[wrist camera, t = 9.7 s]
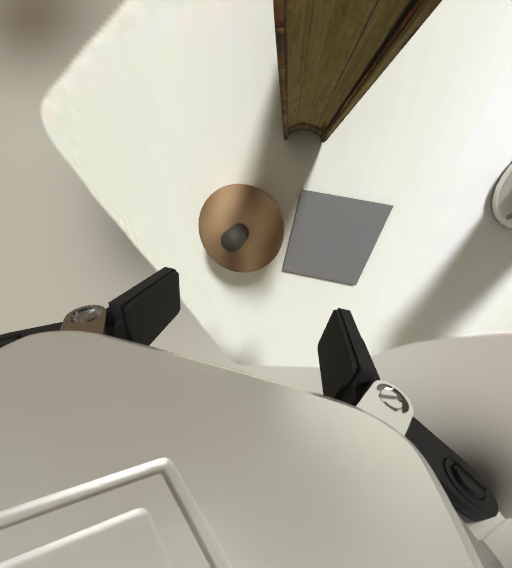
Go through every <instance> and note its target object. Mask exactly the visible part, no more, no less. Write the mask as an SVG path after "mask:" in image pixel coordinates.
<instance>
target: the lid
mask: <svg viewBox="0 0 512 568" xmlns="http://www.w3.org/2000/svg"><path fill="white" fill-rule="evenodd" d="M283 233H284V227H283V220H282V216H281V213H280V211H279V209H278V207H277V205H276V204H275V202H274V201H273V200H272V199H271V198H270V196H269V195H267V194H266V193H265V192H264V191H262V190H260V189H258V188H256V187H254V186H250V185H245V184H232V185H227V186H225V187H222V188H220V189H218V190H216V191H215V192H214V193H213V194H211V195H210V197H209V198H208V199H207V200H206V202H205V203H204V205H203V207H202V209H201V212H200V217H199V234H200V238H201V241H202V244H203V246H204V248H205V250H206V251H207V253H208V254H209V255H210V256H211V258H212V259H213V260H214V261H216V262H217V263H218V264H220V265H221V266H223V267H225V268H227V269H229V270H232V271H236V272H252V271H256V270H259V269H261V268H263V267H265V266H266V265H267V264H269V263H270V262H271V261H272V260H273V259H274V258H275V256H276V255H277V253H278V252H279V249H280V247H281V244H282V241H283Z"/></svg>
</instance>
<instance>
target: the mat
mask: <svg viewBox="0 0 512 568" xmlns="http://www.w3.org/2000/svg"><path fill="white" fill-rule="evenodd" d="M392 208H393V206H392V205H386V204H380V203H375V202H369V201H363V200H358V199H352V198H346V197H341V196H335V195H329V194H324V193H318V192H312V191H307V190H302V191H301V195H300V199H299V203H298V208H297V212H296V216H295V220H294V224H293V228H292V232H291V236H290V240H289V245H288V249H287V253H286V257H285V261H284V265H283V270H284V271H289V272H294V273H299V274H304V275H309V276H313V277H318V278H323V279H328V280H333V281H338V282H343V283H348V284H353V285H356V284H357V282H358V280H359V278H360V275H361V273H362V271H363V269H364V267H365V265H366V263H367V261H368V259H369V256H370V254H371V252H372V250H373V248H374V246H375V244H376V242H377V239H378V237H379V235H380V233H381V231H382V229H383V227H384V225H385V222H386V220H387V218H388V216H389V214H390V212H391V210H392Z"/></svg>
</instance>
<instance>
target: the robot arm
mask: <svg viewBox="0 0 512 568" xmlns="http://www.w3.org/2000/svg"><path fill="white" fill-rule="evenodd" d="M492 209H493V213H494V215H495V218H496V219H497V220H498V221H499V222H500V223H501V224H502V225H504V226H506V227H508V228H511V229H512V164H511V165H510V166H509V167H508V168H507V170H506V171H505V172H504V174H503V175H502V177H501V178H500V180H499V182H498V184H497V186H496V189H495V192H494V194H493V200H492ZM179 311H180V291H179V274H178V272H176V270H175V269H172V268H168V267H164V268H163V269H161V270H159V271H158V272H156V273H155V274H153V275H152V276H150V277H148V278H147V279H145V280H144V281H142V282H141V283H139V284H137V285H136V286H134V287H133V288H131V289H130V290H128V291H126V292H125V293H123V294H122V295H120V296H118V297H117V298H115V299H114V300H112V301H111V302H109V307H108V308H107V309H105V308H104V307H103V306H100V305H88V306H83V307H80V308H77V309H75V310H73V311H71V312H70V313H68V314H67V315H66V316H65V318H64V320H63V322H60V323H55V324H51V325H45V326H40V327H35V328H30V329H25V330H20V331H15V332H10V333H6V334H2V335H0V568H512V519H511V518H508V519H505V518H504V517H503V516H502V514H501V513H500V512H499V511H498V504H497V501H496V499H495V497H494V494H493V493H492V491H491V490H490V488H489V486H488V485H487V483H486V482H485V481H484V480H483V478H482V477H481V476H480V475H479V474H478V473H477V472H476V471H475V470H474V469H473V468H472V467H471V466H470V465H469V464H468V463H466V462H465V461H464V460H463V459H462V458H461V457H459V456H458V455H457V454H456V453H455V452H454V451H453V450H451V449H450V448H449V447H448V446H447V445H446V444H444V443H443V442H442V441H441V440H440V439H439V438H437V437H436V436H435V435H434V434H433V433H432V432H430V431H429V430H428V429H427V428H426V427H425V426H423V425H422V424H421V423H420V422H419V421H418V420H416V419H415V418H414V417H413V414H414V409H413V405H412V403H411V401H410V400H409V398H408V397H407V396H406V395H405V393H404V392H403V391H401V390H400V389H399V388H398V387H396V386H395V385H393V384H392V383H389V382H387V381H383V380H380V378H379V375H378V373H377V371H376V368H375V366H374V364H373V361H372V359H371V357H370V354H369V352H368V350H367V347H366V345H365V343H364V340H363V339H362V338H361V336H360V333H359V331H358V329H357V326H356V324H355V321H354V319H353V317H352V314H351V312H350V311H349V310H345V309H341V308H338V309H337V310H334V311H333V313H332V315H331V317H330V319H329V321H328V323H327V326H326V328H325V330H324V332H323V334H322V337H321V339H320V341H319V343H318V356H319V364H320V371H321V379H322V386H323V395H321V394H318V393H315V392H311V391H308V390H304V389H301V388H298V387H295V386H291V385H288V384H284V383H281V382H277V381H273V380H270V379H266V378H263V377H259V376H256V375H252V374H248V373H245V372H242V371H238V370H234V369H231V368H227V367H223V366H220V365H217V364H213V363H209V362H206V361H202V360H198V359H195V358H191V357H188V356H184V355H180V354H177V353H173V352H169V351H165V350H162V349H158V348H155V347H151V346H149V345H150V344H151V343H152V342H153V341H154V340H155V338H156V337H157V336H158V335H159V334H160V333H161V332H162V331H163V330H164V329H165V327H166V326H167V325H168V324H169V323H170V322H171V321H172V320H173V319H174V317H175V316H176V315H177V314H178V313H179Z"/></svg>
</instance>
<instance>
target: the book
mask: <svg viewBox="0 0 512 568" xmlns="http://www.w3.org/2000/svg"><path fill="white" fill-rule="evenodd" d="M441 1H442V0H273V5H274V20H275V34H276V46H277V59H278V71H279V83H280V95H281V108H282V120H283V132H284V140H287V137H288V135H289V134H290V133H292V132H294V131H296V130H299V129H306V130H310V131H312V132H314V133H316V134H317V135H318V136H320V137H321V142H325V141H326V140H327V139H328V138H329V137H330V135H331V134H332V133H333V132H334V130H335V129H336V128H337V127H338V126H339V124H340V123H341V122H342V121H343V120H344V118H345V117H346V116H347V115H348V114H349V112H350V111H351V110H352V109H353V108H354V106H355V105H356V104H357V103H358V101H359V100H360V99H361V98H362V97H363V95H364V94H365V93H366V92H367V91H368V89H369V88H370V87H371V86H372V85H373V83H374V82H375V81H376V80H377V79H378V77H379V76H380V75H381V74H382V72H383V71H384V70H385V69H386V68H387V66H388V65H389V64H390V63H391V62H392V60H393V59H394V58H395V57H396V56H397V54H398V53H399V52H400V51H401V50H402V48H403V47H404V46H405V45H406V43H407V42H408V41H409V40H410V39H411V37H412V36H413V35H414V34H415V33H416V31H417V30H418V29H419V28H420V27H421V25H422V24H423V23H424V22H425V20H426V19H427V18H428V17H429V16H430V14H431V13H432V12H433V11H434V10H435V8H436V7H437V6H438V5H439V4H440V2H441Z"/></svg>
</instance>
